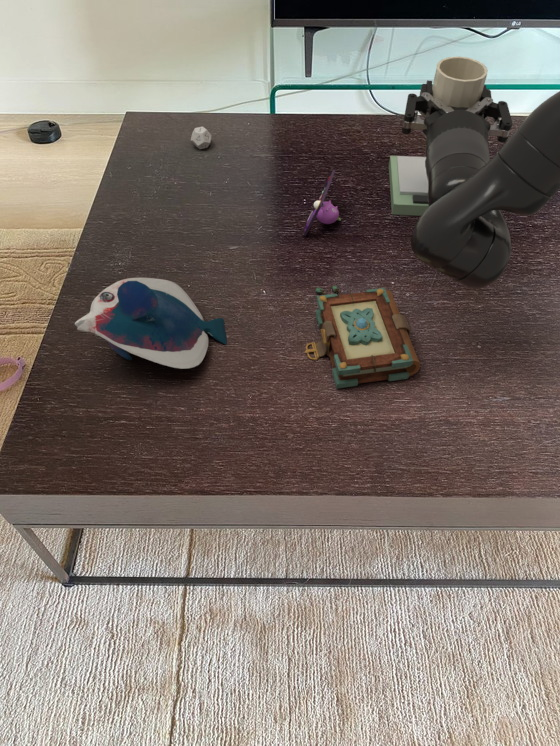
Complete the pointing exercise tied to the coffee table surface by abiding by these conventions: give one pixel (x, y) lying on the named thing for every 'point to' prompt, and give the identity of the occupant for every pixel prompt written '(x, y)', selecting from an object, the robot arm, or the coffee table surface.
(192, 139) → the game die
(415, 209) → the scale
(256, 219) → the coffee table surface
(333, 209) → the purple winged figurine
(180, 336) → the decorative fish sculpture
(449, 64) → the cup
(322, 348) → the decorative book
